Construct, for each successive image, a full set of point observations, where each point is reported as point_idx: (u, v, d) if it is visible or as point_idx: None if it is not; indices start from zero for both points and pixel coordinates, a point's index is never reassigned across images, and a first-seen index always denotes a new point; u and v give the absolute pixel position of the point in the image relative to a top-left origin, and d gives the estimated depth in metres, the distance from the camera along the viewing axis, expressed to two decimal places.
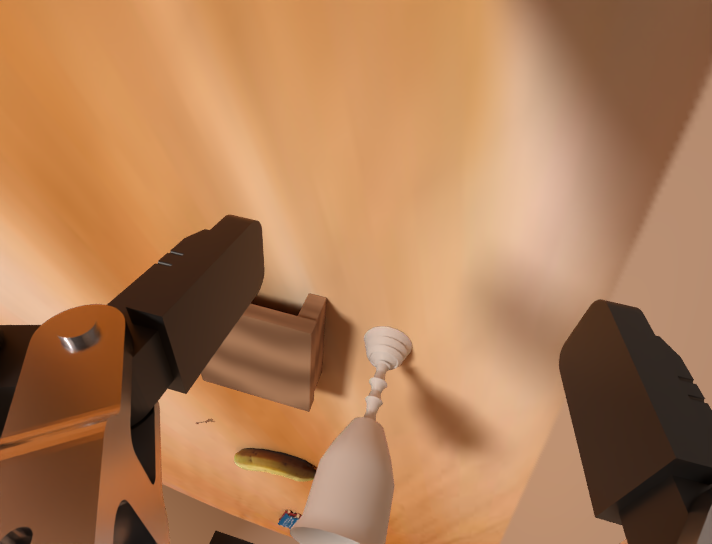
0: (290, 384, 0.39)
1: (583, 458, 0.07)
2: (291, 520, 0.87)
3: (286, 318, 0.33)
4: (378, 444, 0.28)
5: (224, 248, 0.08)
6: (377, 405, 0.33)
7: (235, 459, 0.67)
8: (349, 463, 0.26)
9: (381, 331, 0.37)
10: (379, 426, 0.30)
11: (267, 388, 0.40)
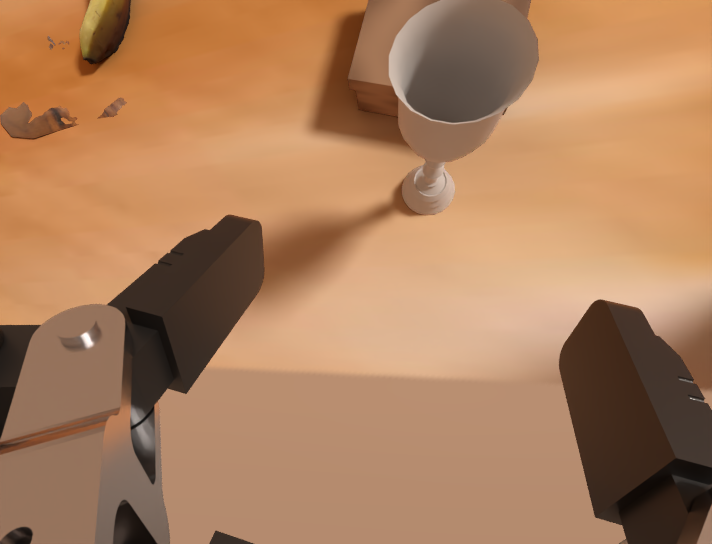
0: None
1: (584, 458, 0.07)
2: None
3: None
4: None
5: (224, 248, 0.08)
6: None
7: None
8: None
9: (452, 183, 0.35)
10: None
11: (387, 34, 0.33)
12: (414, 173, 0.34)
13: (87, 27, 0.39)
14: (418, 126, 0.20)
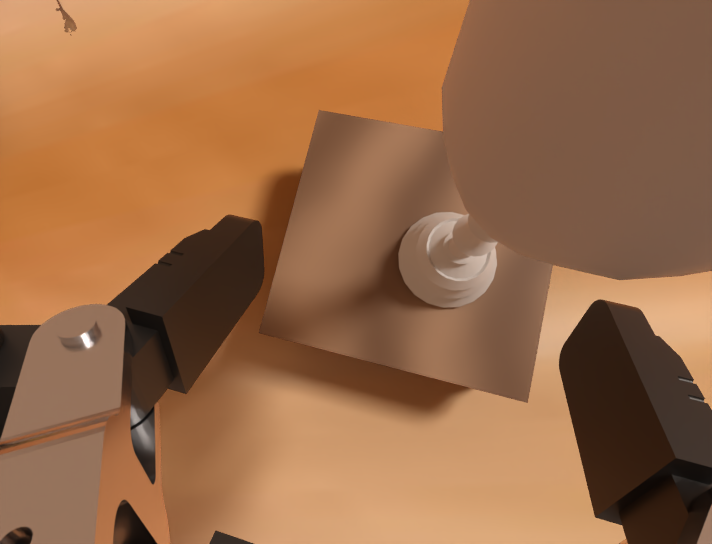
0: (353, 313, 0.19)
1: (583, 458, 0.07)
2: None
3: None
4: None
5: (224, 248, 0.08)
6: None
7: None
8: None
9: None
10: None
11: (325, 257, 0.20)
12: (426, 232, 0.17)
13: None
14: (656, 153, 0.03)
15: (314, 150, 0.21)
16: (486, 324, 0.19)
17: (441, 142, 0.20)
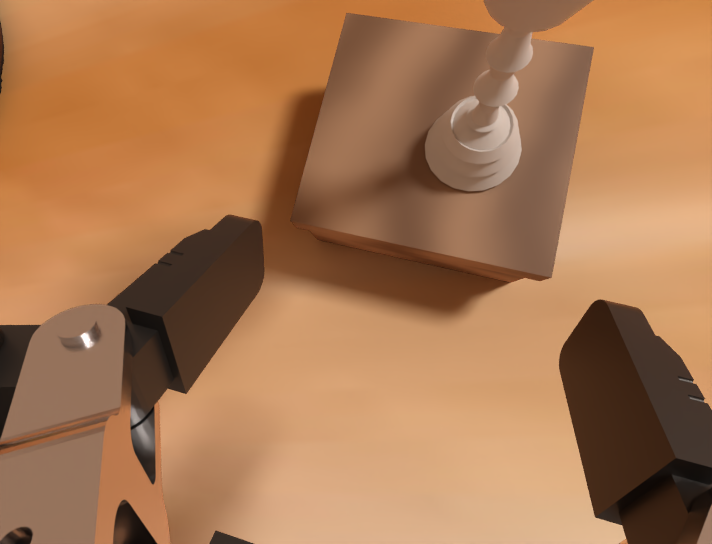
0: (382, 200, 0.20)
1: (584, 458, 0.07)
2: None
3: None
4: None
5: (224, 248, 0.08)
6: (521, 53, 0.13)
7: None
8: None
9: None
10: None
11: (354, 149, 0.21)
12: (450, 112, 0.18)
13: None
14: None
15: (342, 50, 0.22)
16: (511, 206, 0.19)
17: (466, 39, 0.21)
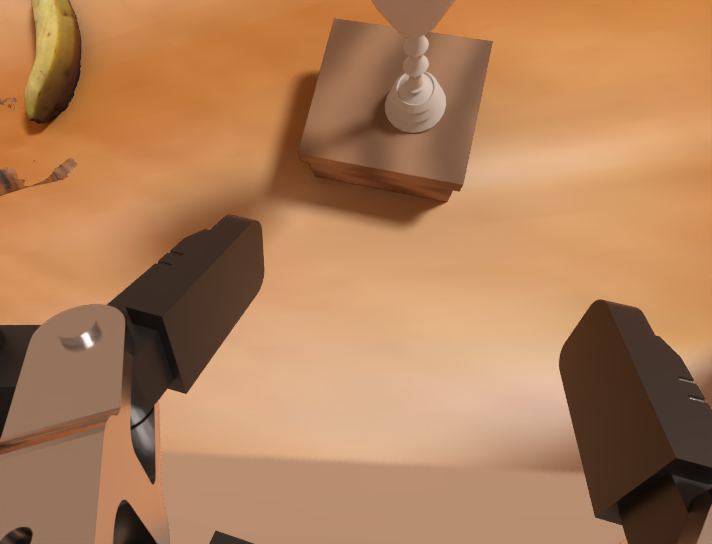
0: (357, 139, 0.31)
1: (584, 458, 0.07)
2: None
3: None
4: (451, 5, 0.19)
5: (224, 248, 0.08)
6: (420, 46, 0.24)
7: None
8: None
9: (442, 94, 0.30)
10: (433, 27, 0.21)
11: (339, 107, 0.32)
12: (397, 81, 0.29)
13: (32, 88, 0.37)
14: None
15: (331, 43, 0.33)
16: (439, 141, 0.30)
17: None
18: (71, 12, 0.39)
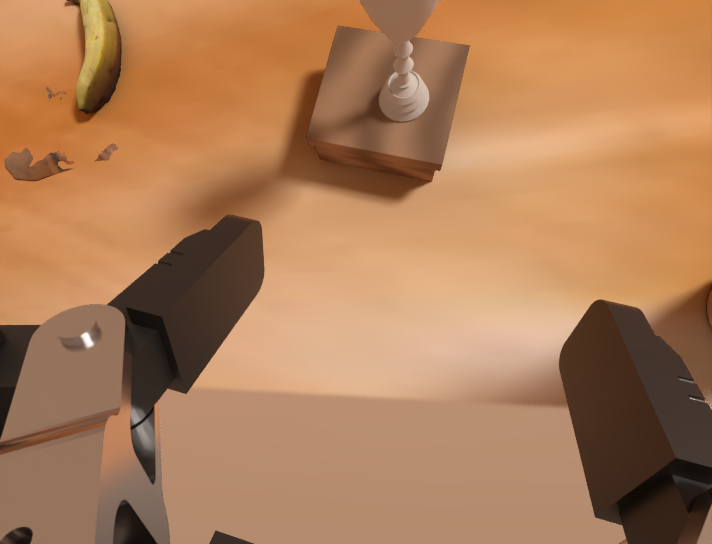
0: (355, 127, 0.37)
1: (584, 458, 0.07)
2: None
3: None
4: (427, 18, 0.26)
5: (224, 248, 0.08)
6: (406, 49, 0.30)
7: None
8: None
9: (426, 90, 0.37)
10: (415, 35, 0.28)
11: (341, 100, 0.38)
12: (388, 78, 0.36)
13: (82, 83, 0.44)
14: None
15: (335, 46, 0.39)
16: (423, 129, 0.37)
17: None
18: (114, 18, 0.46)
